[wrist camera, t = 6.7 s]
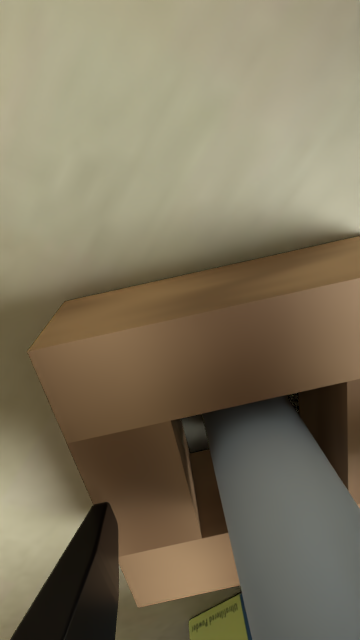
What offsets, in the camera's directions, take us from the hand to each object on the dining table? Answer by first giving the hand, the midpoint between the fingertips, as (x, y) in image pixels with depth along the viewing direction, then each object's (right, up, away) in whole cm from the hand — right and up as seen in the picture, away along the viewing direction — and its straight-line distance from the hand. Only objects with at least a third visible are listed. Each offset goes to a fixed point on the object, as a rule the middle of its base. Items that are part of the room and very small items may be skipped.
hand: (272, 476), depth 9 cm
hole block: (0, +1, +4) cm, 4 cm away
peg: (0, +1, +4) cm, 4 cm away
